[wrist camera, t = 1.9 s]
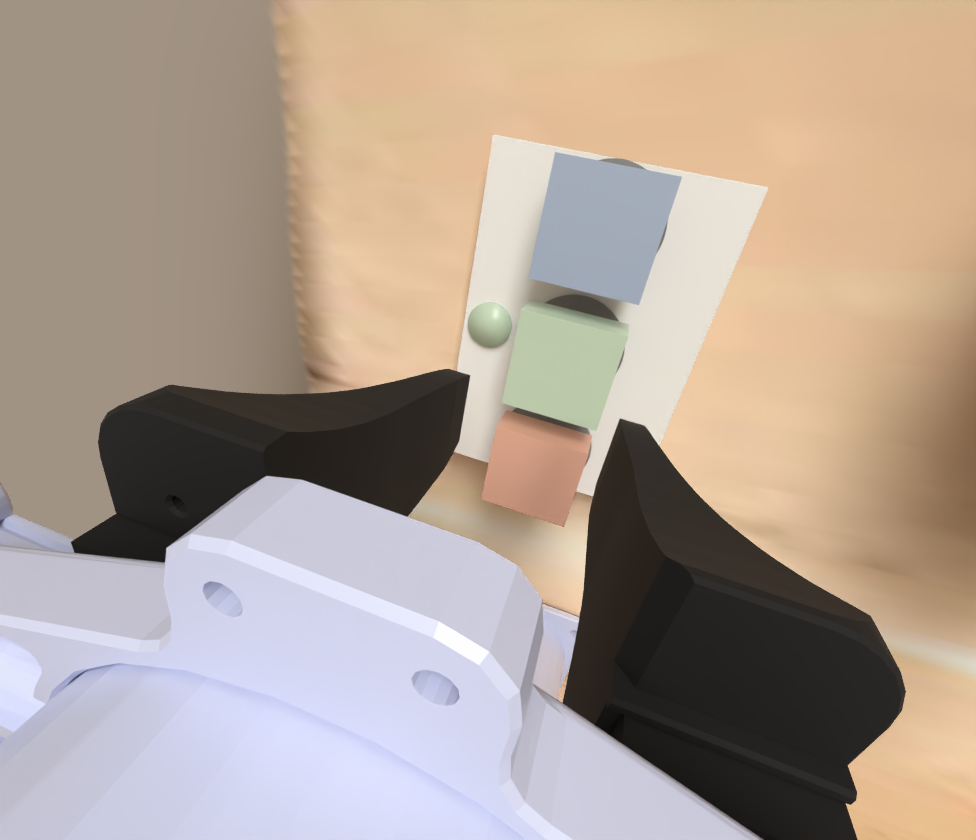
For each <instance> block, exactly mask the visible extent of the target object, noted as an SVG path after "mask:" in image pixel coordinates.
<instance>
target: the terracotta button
mask: <svg viewBox="0 0 976 840" xmlns="http://www.w3.org/2000/svg"><path fill="white" fill-rule="evenodd" d="M591 440H592V435H589V434H586V433H582V432H579V431H576V430H572V429H569V428H565V427H562V426H559V425H555V424H552V423H549V422H545V421H542V420H539V419H535V418H532V417H529V416H525V415H522V414H519V413H515V412H512V411H508V410H506V412H505V413H504V415H503V417H502V418H501V420H500V421H499V423H498V425H497V426H496V431H495V436H494V440H493V445H492V450H491V454H490V459H489V464H488V468H487V473H486V478H485V482H484V487H483V492H482V496H481V499H482V500H485V501H488V502H491V503H494V504H497V505H500V506H503V507H506V508H509V509H512V510H515V511H518V512H521V513H524V514H527V515H529V516H532V517H535V518H538V519H541V520H544V521H547V522H550V523H553V524H556V525H559V526H562V527H564V525H565V522H566V519H567V517H568V514H569V511H570V508H571V505H572V502H573V499H574V496H575V493H576V490H577V487H578V484H579V481H580V478H581V475H582V472H583V469H584V466H585V463H586V460H587V457H588V454H589V449H590V444H591Z"/></svg>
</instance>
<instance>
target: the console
mask: <svg viewBox="0 0 976 840" xmlns="http://www.w3.org/2000/svg"><path fill="white" fill-rule="evenodd" d="M555 152H558V153H563V154H568V155H573V156H578V157H583V158H588V159H593V160H599V161H604V162H609V163H614V164H619V165H624V166H629V167H634V168H640V169H645V170H650V171H655V172H660V173H665V174H670V175H675V176H681V177H682V179H681V182H680V185H679V188H678V191H677V194H676V197H675V200H674V203H673V206H672V209H671V212H670V215H669V218H668V220H667V223H666V226H665V229H664V232H663V235H662V238H661V241H660V244H659V247H658V250H657V253H656V256H655V259H654V262H653V265H652V268H651V271H650V274H649V277H648V280H647V283H646V286H645V289H644V292H643V294H642V297H641V300H640V303H639V305H636V304H632V303H628V302H624V301H620V300H616V299H611V298H607V297H603V296H599V295H595V294H591V293H587V292H583V291H579V290H575V289H571V288H567V287H563V286H558V285H554V284H550V283H546V282H542V281H538V280H534V279H530V278H528V276H529V272H530V267H531V262H532V258H533V253H534V248H535V244H536V239H537V234H538V230H539V225H540V220H541V216H542V211H543V206H544V202H545V197H546V192H547V188H548V183H549V178H550V174H551V169H552V164H553V160H554V155H555ZM768 188H769V187H764V186H759V185H754V184H748V183H743V182H738V181H733V180H728V179H722V178H717V177H712V176H707V175H702V174H696V173H691V172H686V171H681V170H676V169H671V168H665V167H660V166H655V165H650V164H645V163H639V162H634V161H629V160H625V159H619V158H613V157H608V156H603V155H598V154H593V153H588V152H582V151H577V150H572V149H567V148H562V147H556V146H551V145H546V144H541V143H536V142H530V141H525V140H520V139H515V138H510V137H505V136H499V135H494V134H493V139H492V146H491V152H490V159H489V165H488V172H487V178H486V184H485V191H484V197H483V204H482V210H481V217H480V223H479V230H478V236H477V243H476V249H475V256H474V262H473V269H472V275H471V281H470V288H469V294H468V301H467V307H466V314H465V320H464V327H463V333H462V340H461V346H460V353H459V359H458V366H457V371H458V372H461V373H464V374H468V375H470V381H469V387H468V393H467V399H466V405H465V410H464V416H463V422H462V428H461V434H460V440H459V443H458V445H457V446H456V448H455V450H454V452H456V453H459V454H462V455H465V456H468V457H471V458H474V459H477V460H480V461H484V462H487V463H489V459H490V454H491V450H492V445H493V440H494V436H495V431H496V426H497V425H498V423H499V421H500V420H501V418H502V417H503V415H504V413H505V412H506V410H508V411H512V412H515V413H519V414H522V415H525V416H529V417H532V418H535V419H539V420H542V421H545V422H549V423H552V424H555V425H559V426H562V427H565V428H569V429H572V430H576V431H579V432H582V433H586V434H589V435H592V440H591V444H590V449H589V454H588V457H587V460H586V463H585V466H584V469H583V472H582V475H581V478H580V481H579V484H578V487H577V490H576V491H577V492H580V493H583V494H586V495H590V496H593V495H594V491H595V486H596V483H597V480H598V477H599V474H600V472H601V469H602V466H603V463H604V461H605V458H606V455H607V452H608V450H609V447H610V444H611V441H612V438H613V436H614V433H615V430H616V427H617V425H618V422H619V419H624V420H627V421H631V422H634V423H638V424H641V425H645V427H646V428H647V429H648V430H649V432H650V433H651V435H652V436H653V438H654V439H655V441H656V442H657V444H658V445H660V443H661V441H662V438H663V436H664V434H665V431H666V429H667V426H668V424H669V422H670V419H671V417H672V415H673V412H674V410H675V407H676V405H677V403H678V400H679V398H680V396H681V393H682V391H683V389H684V386H685V384H686V381H687V379H688V377H689V374H690V372H691V370H692V367H693V365H694V363H695V360H696V358H697V355H698V353H699V351H700V348H701V346H702V344H703V341H704V339H705V337H706V334H707V332H708V329H709V327H710V325H711V322H712V320H713V318H714V315H715V313H716V311H717V308H718V306H719V303H720V301H721V299H722V296H723V294H724V292H725V289H726V287H727V285H728V282H729V280H730V277H731V275H732V273H733V270H734V268H735V266H736V263H737V261H738V258H739V256H740V254H741V251H742V249H743V247H744V244H745V242H746V240H747V237H748V235H749V232H750V230H751V228H752V225H753V223H754V221H755V218H756V216H757V214H758V211H759V209H760V206H761V204H762V202H763V199H764V197H765V195H766V192H767V190H768ZM530 300H535V301H539V302H543V303H547V304H551V305H555V306H559V307H563V308H567V309H571V310H575V311H579V312H583V313H587V314H591V315H594V316H598V317H602V318H606V319H610V320H614V321H618V322H622V323H626V324H630V325H629V335H628V339H627V342H626V345H625V348H624V351H623V354H622V357H621V360H620V363H619V366H618V368H617V371H616V374H615V377H614V380H613V383H612V386H611V389H610V392H609V395H608V398H607V401H606V404H605V407H604V410H603V413H602V416H601V419H600V422H599V425H598V428H597V431H595V430H591V429H588V428H585V427H581V426H578V425H574V424H571V423H568V422H564V421H561V420H558V419H554V418H551V417H547V416H544V415H541V414H537V413H534V412H531V411H527V410H524V409H520V408H517V407H514V406H510V405H507V404H503V403H502V398H503V393H504V389H505V384H506V379H507V375H508V370H509V365H510V361H511V356H512V351H513V347H514V342H515V337H516V333H517V328H518V323H519V319H520V314H521V309H522V308H523V307H524V306H525V305H526V304H527V303H528V302H529V301H530Z"/></svg>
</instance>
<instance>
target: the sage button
mask: <svg viewBox="0 0 976 840" xmlns="http://www.w3.org/2000/svg"><path fill="white" fill-rule="evenodd" d="M629 325H630V324H626V323H622V322H618V321H614V320H610V319H606V318H602V317H598V316H594V315H591V314H587V313H583V312H579V311H575V310H571V309H567V308H563V307H559V306H555V305H551V304H547V303H543V302H539V301H535V300H530V301H529V302H528V303H527V304H526V305H525V306H524V307H523V308H522V309H521V314H520V319H519V323H518V328H517V333H516V337H515V342H514V347H513V351H512V356H511V361H510V365H509V370H508V375H507V379H506V384H505V389H504V393H503V398H502V403H503V404H507V405H510V406H514V407H517V408H520V409H524V410H527V411H531V412H534V413H537V414H541V415H544V416H547V417H551V418H554V419H558V420H561V421H564V422H568V423H571V424H574V425H578V426H581V427H585V428H588V429H591V430H595V431H597V428H598V425H599V422H600V419H601V416H602V413H603V410H604V407H605V404H606V401H607V398H608V395H609V392H610V389H611V386H612V383H613V380H614V377H615V374H616V371H617V368H618V366H619V363H620V360H621V357H622V354H623V351H624V348H625V345H626V342H627V339H628V335H629Z"/></svg>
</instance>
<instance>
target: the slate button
mask: <svg viewBox="0 0 976 840" xmlns="http://www.w3.org/2000/svg"><path fill="white" fill-rule="evenodd" d="M681 179H682V177H681V176H675V175H670V174H665V173H660V172H655V171H650V170H645V169H640V168H634V167H629V166H624V165H619V164H614V163H609V162H604V161H599V160H593V159H588V158H583V157H578V156H573V155H568V154H563V153H558V152H555V155H554V160H553V164H552V169H551V174H550V178H549V183H548V188H547V192H546V197H545V202H544V206H543V211H542V216H541V220H540V225H539V230H538V234H537V239H536V244H535V248H534V253H533V258H532V262H531V267H530V272H529V276H528V278H530V279H534V280H538V281H542V282H546V283H550V284H554V285H558V286H563V287H567V288H571V289H575V290H579V291H583V292H587V293H591V294H595V295H599V296H603V297H607V298H611V299H616V300H620V301H624V302H628V303H632V304H636V305H639V303H640V300H641V297H642V294H643V292H644V289H645V286H646V283H647V280H648V277H649V274H650V271H651V268H652V265H653V262H654V259H655V256H656V253H657V250H658V247H659V244H660V241H661V238H662V235H663V232H664V229H665V226H666V223H667V220H668V218H669V215H670V212H671V209H672V206H673V203H674V200H675V197H676V194H677V191H678V188H679V185H680V182H681Z"/></svg>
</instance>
